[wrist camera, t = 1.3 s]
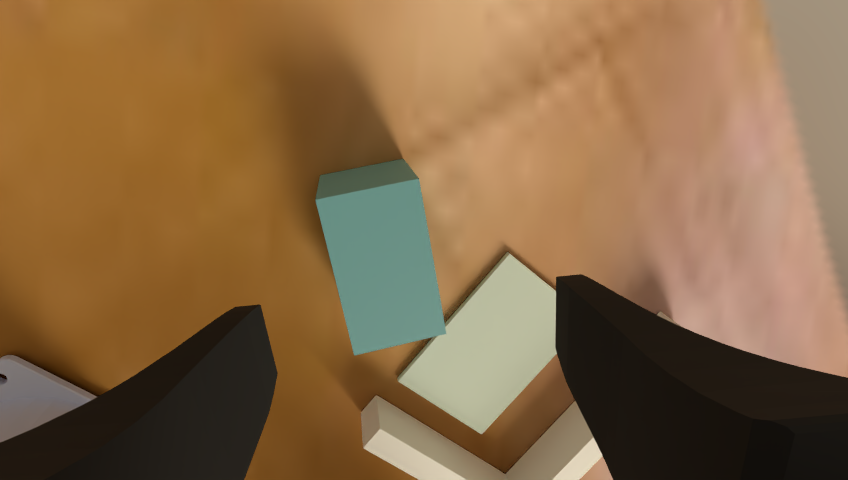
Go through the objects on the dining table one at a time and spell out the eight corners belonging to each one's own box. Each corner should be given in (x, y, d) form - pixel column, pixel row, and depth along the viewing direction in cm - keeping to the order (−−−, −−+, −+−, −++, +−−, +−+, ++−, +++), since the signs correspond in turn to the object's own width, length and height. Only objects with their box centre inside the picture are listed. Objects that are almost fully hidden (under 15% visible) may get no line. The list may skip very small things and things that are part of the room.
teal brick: (426, 286, 23) (446, 333, 19) (351, 303, 23) (354, 355, 19) (403, 158, 21) (418, 178, 17) (320, 174, 21) (315, 199, 17)
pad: (480, 430, 26) (481, 434, 26) (397, 377, 24) (398, 381, 24) (586, 315, 25) (589, 318, 25) (507, 251, 23) (509, 253, 23)
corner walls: (511, 501, 28) (527, 541, 25) (360, 412, 25) (362, 448, 22) (679, 327, 26) (712, 352, 24) (540, 206, 23) (563, 221, 20)
